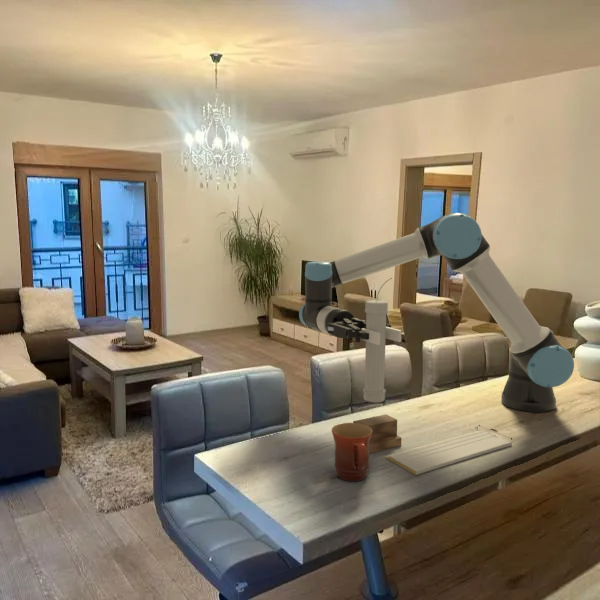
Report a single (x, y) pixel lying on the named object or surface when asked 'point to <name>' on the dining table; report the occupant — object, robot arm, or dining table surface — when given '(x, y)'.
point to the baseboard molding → (448, 451)
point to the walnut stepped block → (382, 432)
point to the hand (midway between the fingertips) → (389, 337)
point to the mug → (352, 450)
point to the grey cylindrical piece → (375, 351)
